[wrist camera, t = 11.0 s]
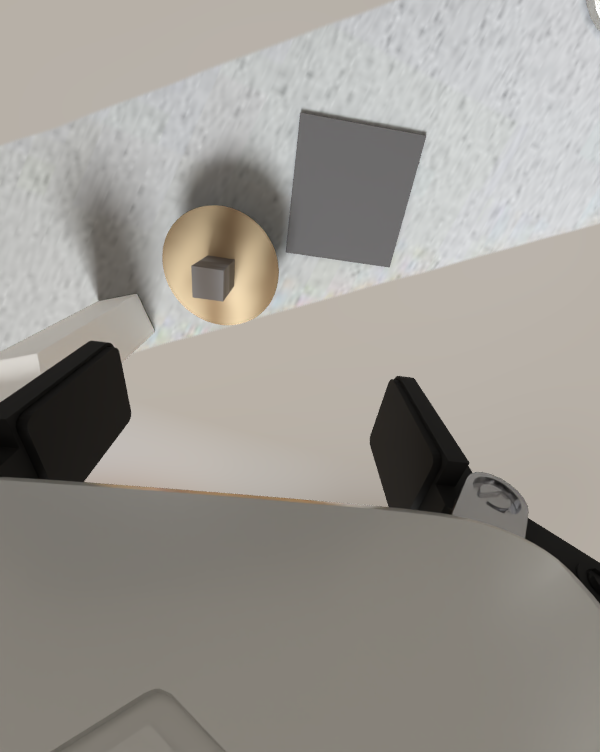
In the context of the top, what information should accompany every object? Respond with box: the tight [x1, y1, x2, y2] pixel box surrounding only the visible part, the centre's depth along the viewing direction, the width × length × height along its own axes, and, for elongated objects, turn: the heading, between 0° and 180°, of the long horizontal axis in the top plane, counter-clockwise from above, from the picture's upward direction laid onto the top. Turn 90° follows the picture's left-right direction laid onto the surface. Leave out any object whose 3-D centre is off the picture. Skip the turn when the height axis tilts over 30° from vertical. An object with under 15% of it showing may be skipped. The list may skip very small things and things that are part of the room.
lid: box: [162, 205, 279, 325], centre depth 32 cm, size 13×13×7 cm
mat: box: [286, 113, 426, 267], centre depth 36 cm, size 14×14×1 cm
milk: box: [0, 294, 155, 402], centre depth 34 cm, size 6×6×22 cm
